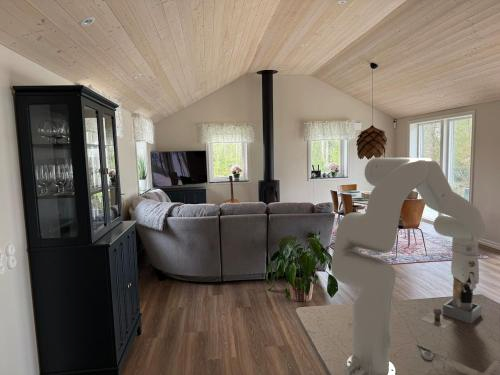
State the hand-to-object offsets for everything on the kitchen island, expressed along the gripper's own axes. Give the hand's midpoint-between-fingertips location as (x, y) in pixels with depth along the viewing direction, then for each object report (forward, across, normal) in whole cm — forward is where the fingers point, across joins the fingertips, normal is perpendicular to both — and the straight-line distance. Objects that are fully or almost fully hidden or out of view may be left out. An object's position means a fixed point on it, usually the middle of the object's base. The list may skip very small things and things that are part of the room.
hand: (462, 298), depth 123 cm
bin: (+7, 0, 0) cm, 7 cm away
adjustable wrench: (+8, -12, +20) cm, 25 cm away
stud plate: (+7, -4, +10) cm, 13 cm away
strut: (+4, 0, 0) cm, 4 cm away
